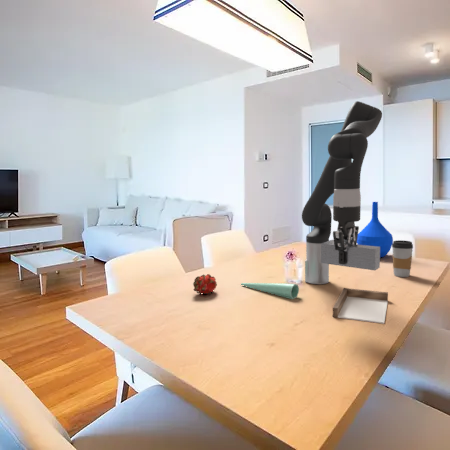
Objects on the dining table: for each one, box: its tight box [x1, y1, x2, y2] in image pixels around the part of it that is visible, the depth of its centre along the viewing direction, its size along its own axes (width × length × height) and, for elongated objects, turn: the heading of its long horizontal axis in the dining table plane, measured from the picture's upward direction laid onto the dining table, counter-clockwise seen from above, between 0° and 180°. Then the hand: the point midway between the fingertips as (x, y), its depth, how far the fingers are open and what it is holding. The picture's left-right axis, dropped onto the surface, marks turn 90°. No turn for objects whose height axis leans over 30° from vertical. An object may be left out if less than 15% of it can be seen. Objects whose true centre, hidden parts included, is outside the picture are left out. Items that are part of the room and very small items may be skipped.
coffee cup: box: [391, 239, 414, 278], centre depth 160 cm, size 8×8×15 cm
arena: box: [332, 287, 389, 318], centre depth 122 cm, size 15×22×3 cm, turn 154°
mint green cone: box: [240, 282, 300, 300], centre depth 144 cm, size 5×6×27 cm
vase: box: [357, 201, 394, 259], centre depth 199 cm, size 18×18×30 cm
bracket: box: [321, 239, 381, 271], centre depth 108 cm, size 16×8×6 cm, turn 50°
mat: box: [337, 296, 389, 324], centre depth 121 cm, size 14×21×1 cm, turn 154°
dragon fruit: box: [192, 273, 218, 295], centre depth 143 cm, size 8×8×12 cm
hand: (345, 262), depth 108 cm, fingers closed on bracket, 4 cm apart
